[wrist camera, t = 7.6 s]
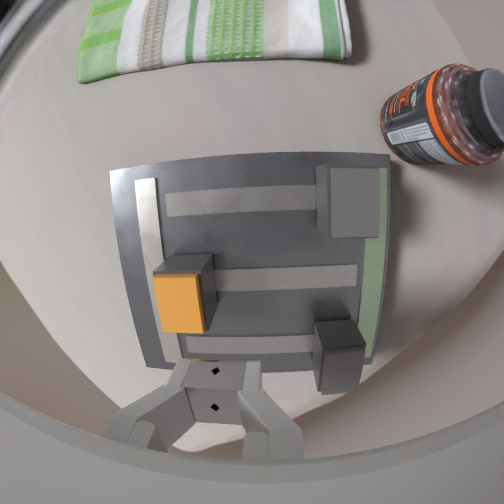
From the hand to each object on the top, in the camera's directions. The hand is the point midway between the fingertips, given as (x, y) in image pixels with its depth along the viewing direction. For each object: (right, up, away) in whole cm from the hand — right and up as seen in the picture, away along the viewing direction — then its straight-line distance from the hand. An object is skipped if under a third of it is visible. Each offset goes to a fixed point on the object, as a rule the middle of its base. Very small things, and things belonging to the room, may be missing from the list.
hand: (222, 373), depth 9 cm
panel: (+1, +3, +12) cm, 12 cm away
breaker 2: (+7, -3, +11) cm, 13 cm away
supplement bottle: (+14, +14, +8) cm, 21 cm away
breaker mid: (-3, +2, +10) cm, 11 cm away
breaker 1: (+7, +8, +8) cm, 13 cm away
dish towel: (-3, +27, +6) cm, 28 cm away
